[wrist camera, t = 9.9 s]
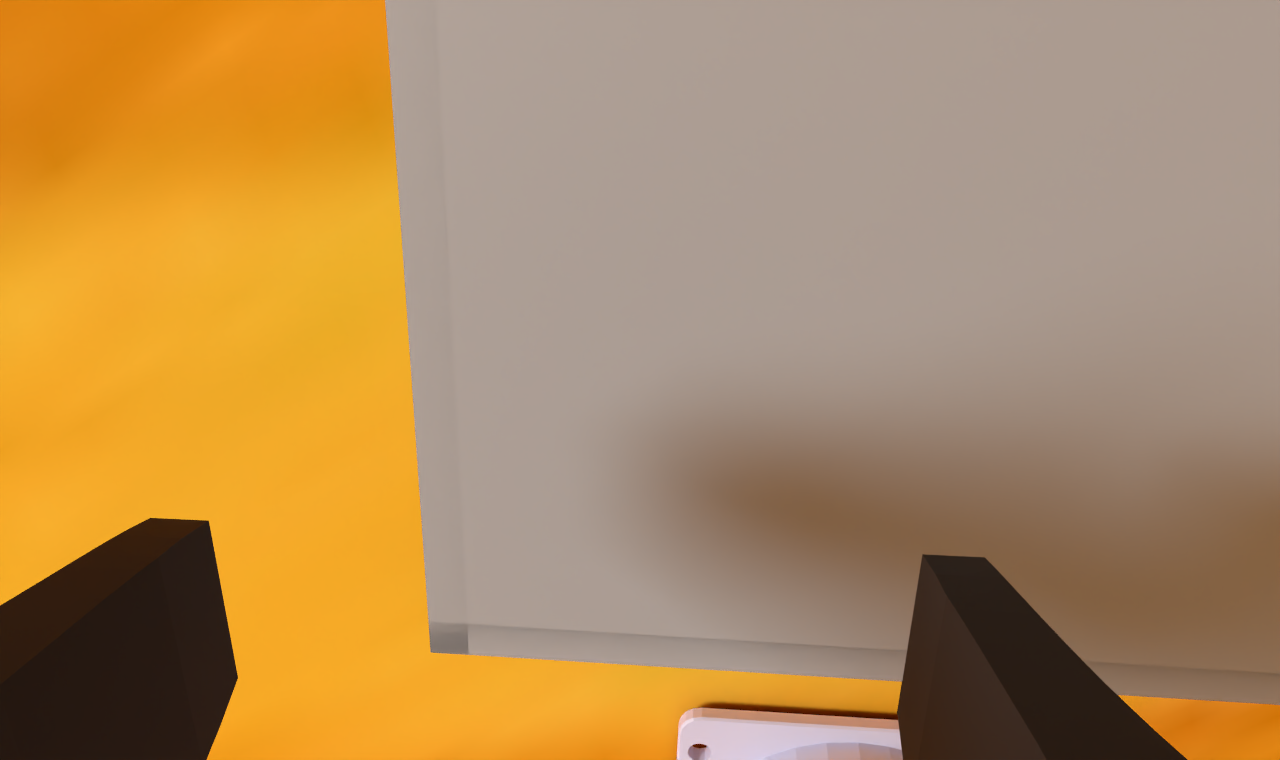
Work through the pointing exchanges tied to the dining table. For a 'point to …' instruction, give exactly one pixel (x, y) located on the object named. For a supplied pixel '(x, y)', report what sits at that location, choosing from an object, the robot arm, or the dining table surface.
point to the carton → (845, 327)
